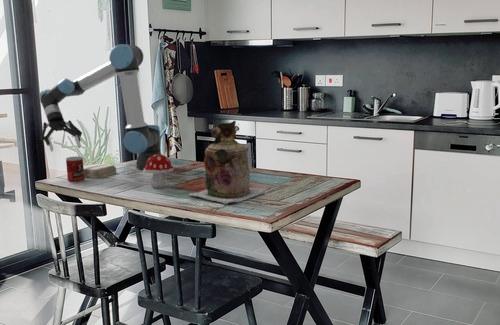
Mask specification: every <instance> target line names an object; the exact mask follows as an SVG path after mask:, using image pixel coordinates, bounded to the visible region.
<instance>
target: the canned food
mask: <svg viewBox="0 0 500 325" xmlns="http://www.w3.org/2000/svg"><path fill="white" fill-rule="evenodd" d="M83 159H84V158H83V157H82V156H69V157H66V158H65V160H66V162H65V164H66V174H67V180H68V182H71V183H78V182H83V181H84V180H85V177H84V168H83V167H84V160H83Z"/></svg>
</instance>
